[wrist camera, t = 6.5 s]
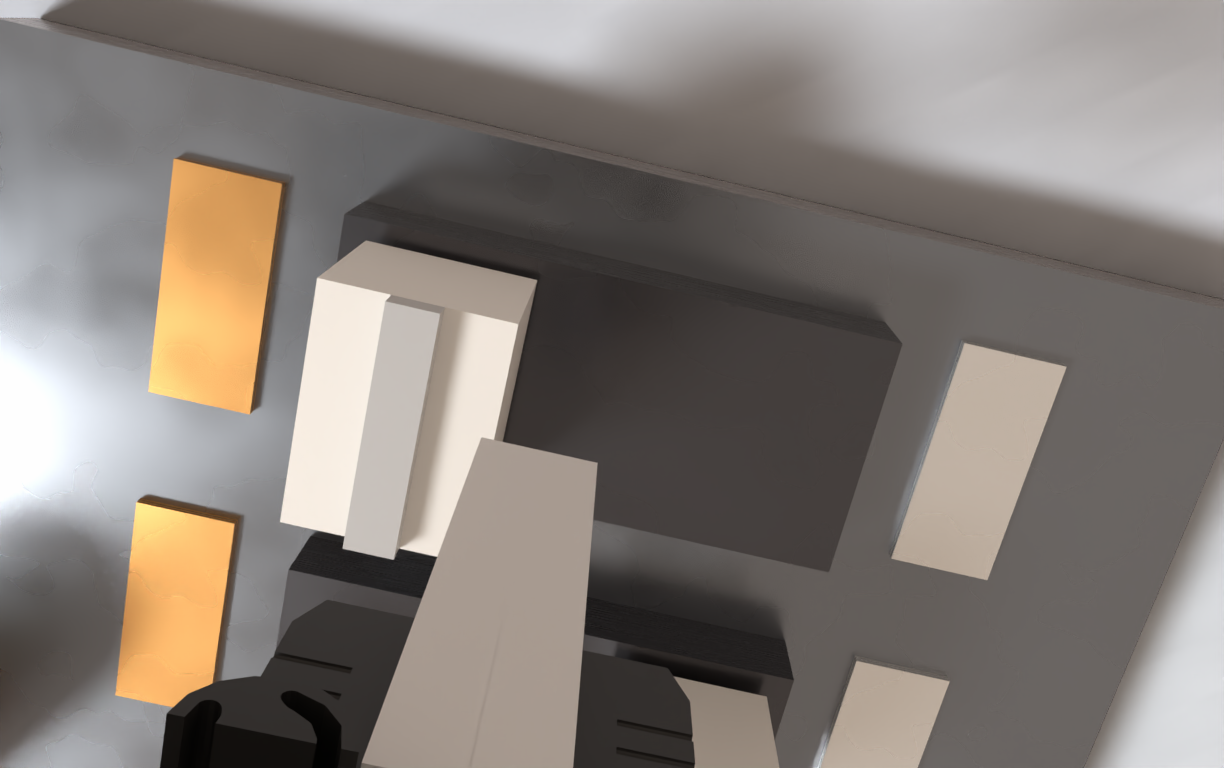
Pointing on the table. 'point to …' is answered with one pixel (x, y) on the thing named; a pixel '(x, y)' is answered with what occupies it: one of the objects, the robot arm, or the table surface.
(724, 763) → the breaker
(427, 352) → the block
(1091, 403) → the panel
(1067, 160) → the table surface
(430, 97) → the table surface
